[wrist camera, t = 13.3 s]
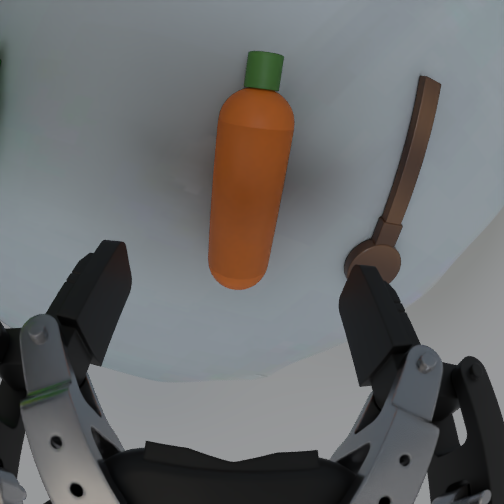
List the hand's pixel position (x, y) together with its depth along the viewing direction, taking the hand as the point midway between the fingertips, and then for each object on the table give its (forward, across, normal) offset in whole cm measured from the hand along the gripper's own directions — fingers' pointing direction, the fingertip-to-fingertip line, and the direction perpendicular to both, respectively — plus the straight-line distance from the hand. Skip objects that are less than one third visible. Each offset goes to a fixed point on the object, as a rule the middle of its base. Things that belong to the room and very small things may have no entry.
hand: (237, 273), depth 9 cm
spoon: (+10, -11, -1) cm, 15 cm away
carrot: (+10, 0, +1) cm, 10 cm away
